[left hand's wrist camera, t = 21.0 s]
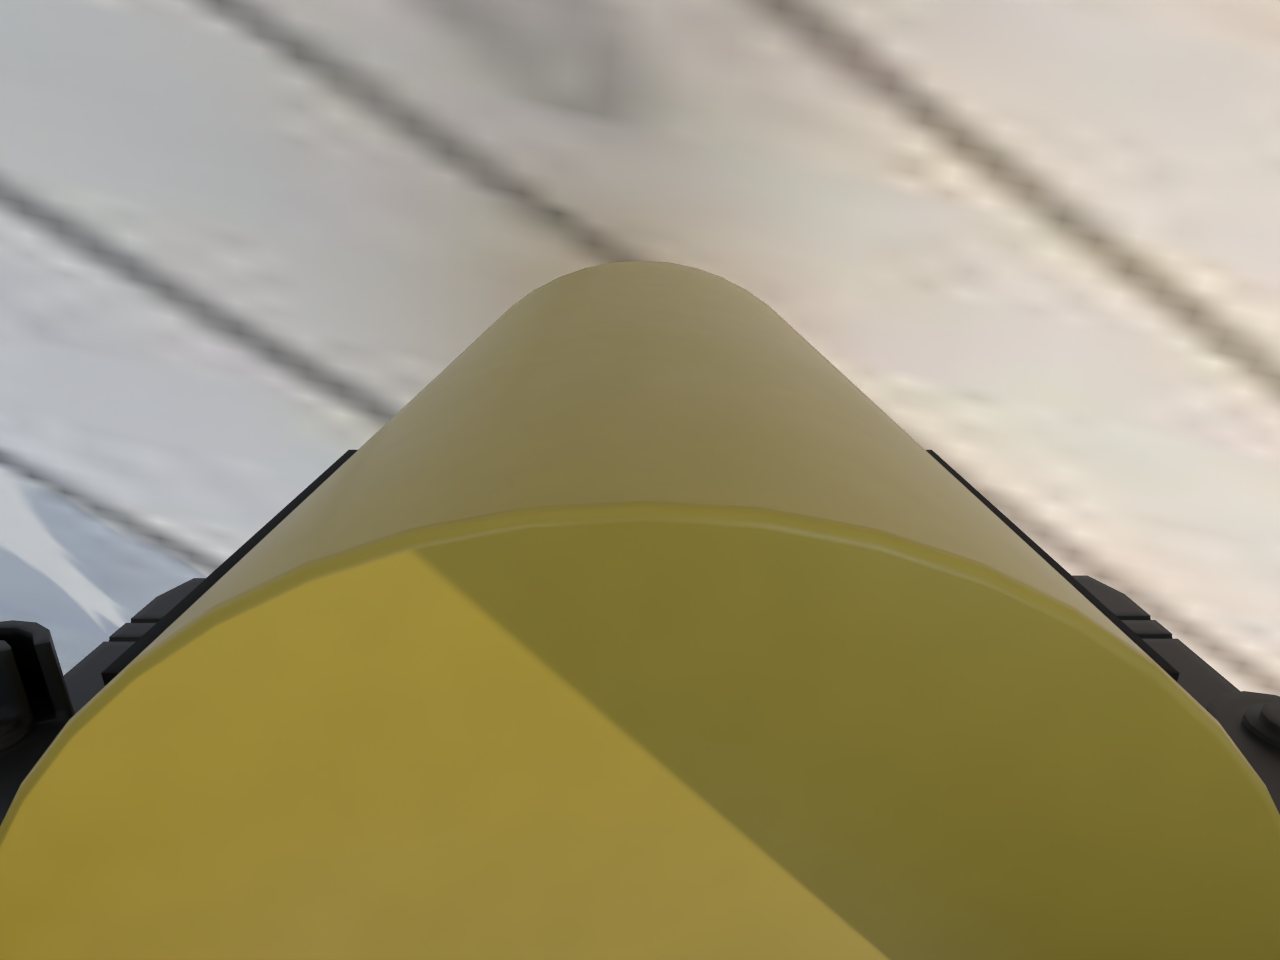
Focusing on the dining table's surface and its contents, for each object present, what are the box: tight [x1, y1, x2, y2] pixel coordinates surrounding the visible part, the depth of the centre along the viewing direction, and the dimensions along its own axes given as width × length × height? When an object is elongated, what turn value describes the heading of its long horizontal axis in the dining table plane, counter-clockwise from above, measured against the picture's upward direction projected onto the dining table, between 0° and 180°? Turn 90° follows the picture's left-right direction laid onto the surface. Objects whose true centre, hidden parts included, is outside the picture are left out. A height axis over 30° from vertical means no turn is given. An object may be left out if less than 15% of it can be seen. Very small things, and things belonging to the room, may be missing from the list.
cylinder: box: [0, 261, 1280, 960], centre depth 11 cm, size 8×8×13 cm
